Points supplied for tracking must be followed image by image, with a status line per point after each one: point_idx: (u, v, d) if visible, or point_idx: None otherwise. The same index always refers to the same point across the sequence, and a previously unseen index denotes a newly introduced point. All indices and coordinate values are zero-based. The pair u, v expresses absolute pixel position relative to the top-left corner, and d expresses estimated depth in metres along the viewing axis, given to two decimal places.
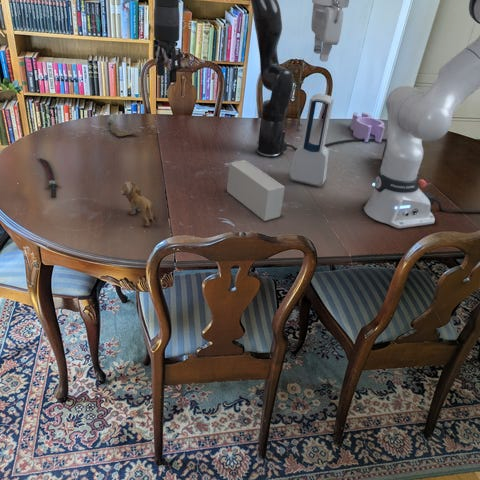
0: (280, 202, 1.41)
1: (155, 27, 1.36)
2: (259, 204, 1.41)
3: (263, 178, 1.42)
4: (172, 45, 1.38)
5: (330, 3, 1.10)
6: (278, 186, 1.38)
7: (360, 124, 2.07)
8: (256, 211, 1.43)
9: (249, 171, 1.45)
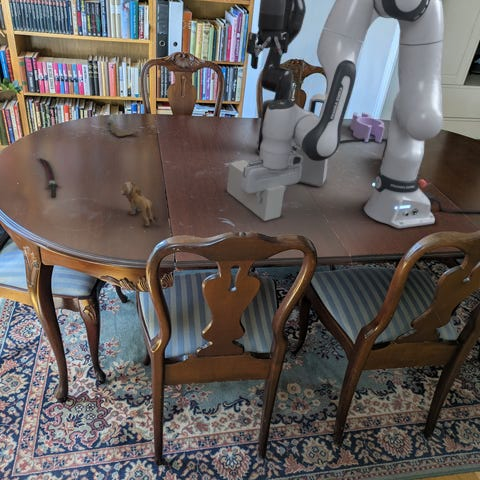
0: (280, 202, 1.41)
1: None
2: (259, 204, 1.41)
3: None
4: (259, 32, 1.40)
5: None
6: (278, 186, 1.38)
7: (360, 124, 2.07)
8: (256, 211, 1.43)
9: None
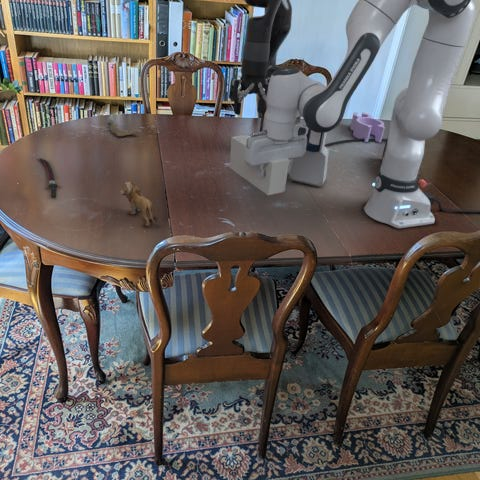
0: (284, 176, 1.36)
1: None
2: (263, 178, 1.36)
3: None
4: (242, 78, 1.35)
5: None
6: (282, 159, 1.33)
7: (360, 124, 2.07)
8: (259, 185, 1.38)
9: None
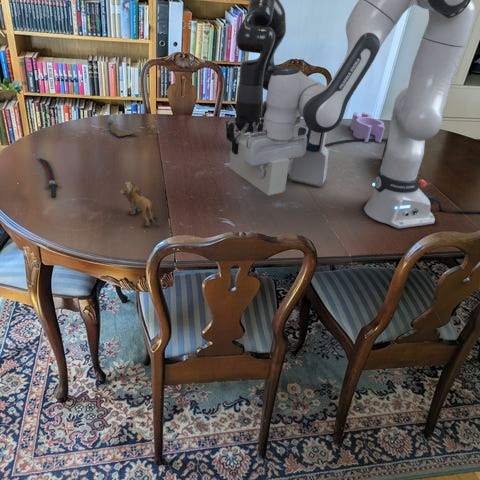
0: (284, 176, 1.36)
1: None
2: (263, 178, 1.36)
3: None
4: (237, 118, 1.39)
5: None
6: (282, 159, 1.33)
7: (360, 124, 2.07)
8: (259, 185, 1.38)
9: None
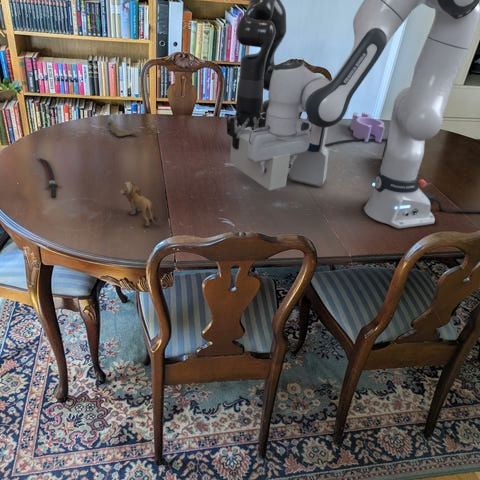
0: (285, 171, 1.35)
1: None
2: None
3: None
4: (238, 113, 1.38)
5: None
6: None
7: (360, 124, 2.07)
8: (260, 180, 1.38)
9: None
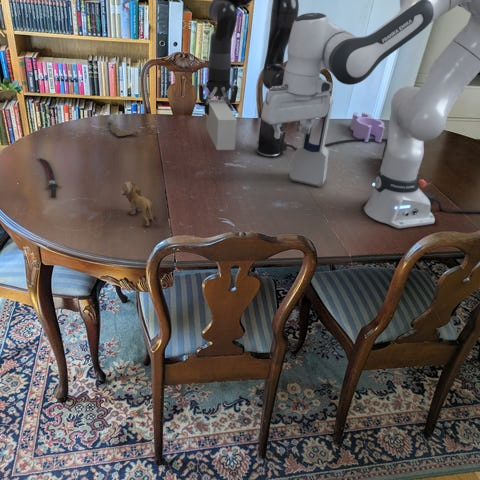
0: (233, 135, 1.53)
1: None
2: (215, 134, 1.55)
3: (224, 112, 1.55)
4: (207, 82, 1.59)
5: None
6: (231, 118, 1.50)
7: (360, 124, 2.07)
8: (214, 141, 1.57)
9: (217, 106, 1.60)
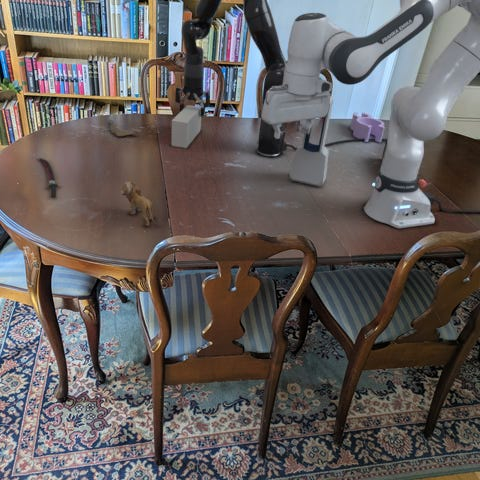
0: (184, 135, 1.80)
1: None
2: None
3: (185, 116, 1.83)
4: None
5: None
6: (183, 121, 1.78)
7: (360, 124, 2.07)
8: None
9: (187, 111, 1.88)
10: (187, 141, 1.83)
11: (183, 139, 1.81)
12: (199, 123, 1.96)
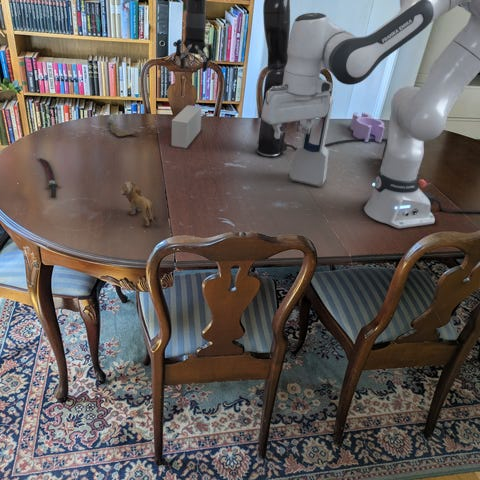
0: (184, 135, 1.80)
1: None
2: None
3: (185, 116, 1.83)
4: None
5: None
6: (183, 121, 1.78)
7: (360, 124, 2.07)
8: None
9: (187, 111, 1.88)
10: (187, 141, 1.83)
11: (183, 139, 1.81)
12: (199, 123, 1.96)
